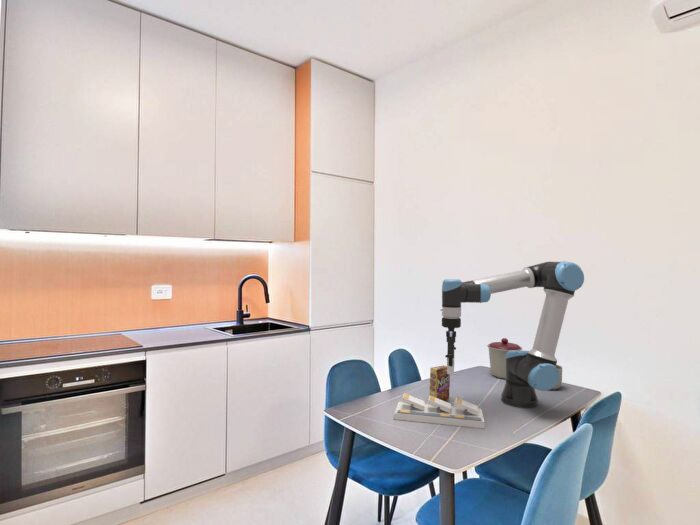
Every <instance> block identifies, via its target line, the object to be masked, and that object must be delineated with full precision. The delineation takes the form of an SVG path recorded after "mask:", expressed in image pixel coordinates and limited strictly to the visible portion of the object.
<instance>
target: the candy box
mask: <svg viewBox="0 0 700 525" xmlns="http://www.w3.org/2000/svg"><path fill="white" fill-rule="evenodd" d="M429 373H430V374H429V393H428V394H429V396H430V395H431V396H433V397H435V398H438V399H440V400H443V401H445V402H447V401H450V382H451V374H447V365H439V366H435V367H430V372H429ZM429 396H428V397H429Z"/></svg>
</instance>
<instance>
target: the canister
mask: <svg viewBox="0 0 700 525" xmlns="http://www.w3.org/2000/svg"><path fill="white" fill-rule="evenodd" d="M486 346H487V348H488V356H489V365H490V372H491V374H492V375H493V376H494V377H496V378H499V379H503V380H504V379H505V380H506V353H507V352H508V351H513V350H522V351H523V347H522V346H520V345H519V344H517V343H513V342H509V339H508V338H505V337H504V338H502V339H501V340H500V341H495V342H490V343H489V344H487V345H486Z"/></svg>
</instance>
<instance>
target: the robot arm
mask: <svg viewBox="0 0 700 525" xmlns="http://www.w3.org/2000/svg"><path fill="white" fill-rule="evenodd" d="M584 282H585V274H584V271H583V270H582V268H581V267H580V265H578V264H577V263H575V262H571V261H570V262H569V261H565V260H563V261H546V262H545V261H544V262H541V263H537V264H534V265H529V266H525V267H523V268H522V270H517V271H513V272H507V273H502V274H497V275H492V276H487V277H483V278H482V277H481V278H477V279H473V280H467V281H462V280H461V279H456V278H455V279H454V278H449V279H448V278H445V279H444V280H442V285H441V308H440V312H441V316H442V317H441V327H443V328H446V329H447V330H446V331H445V337H446V343H447V354H445V358H446V366H447V374H450V375H455V351H456V350H457V347H456V346H455V343H456V337H457V331H455V329H459V328H461V327H462V319H461V317H462V303H473V304H474V303H476V304H477V303H478V304H481V303H488V302H489V301H490V300H491V295H492V294H497V293H501V292H506V291H511V290H517V289H521V288H525V287H526V288H529V289H534V288H543V289H542V290H543V292H544V293H545V298H544V302H543V306H542V310H541V314H540V318H539V320H538V326H537V329H536V333H535V337H534V341H533V345H532V349H530V350H523V349H522V350H513V351H508V352H507V353H506V379H505V384H504V386H503V390H502V392H501V396H500V397H501V402H503V403H504V404H507V405H509V406H511V407H516V408H517V407H518V408H535V407H537V406H538V405H539V400H538V399H539V398H538V396H537V395H538V394H537V393H536V390H537V391H540V392H547V391H551V390H550V389H552V388H554V387H555V386H556V385H557V383H558V381H559V378H560V374H559V372H558V369H557V368H556V365H558V364H557V363H558V359H557V358H556V356H555V354H556V350H557V348H558V347H557V346H558V343H559V338H560V335H561V330H562V328H563V327H562V326H563V323H564V320H565V316H566V315H565V314H566V310H567V306H568V302H569V300H570V299H572V298H574V297H575V292H576V291H577V290H579V289H580V288H581V287H583V284H584Z"/></svg>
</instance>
